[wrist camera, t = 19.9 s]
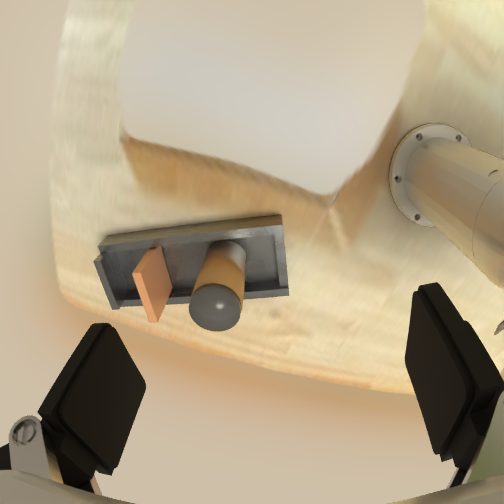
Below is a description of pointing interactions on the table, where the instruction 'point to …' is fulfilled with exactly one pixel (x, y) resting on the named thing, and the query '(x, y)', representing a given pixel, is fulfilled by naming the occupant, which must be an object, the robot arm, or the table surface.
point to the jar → (219, 287)
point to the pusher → (153, 282)
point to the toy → (499, 328)
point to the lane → (195, 258)
